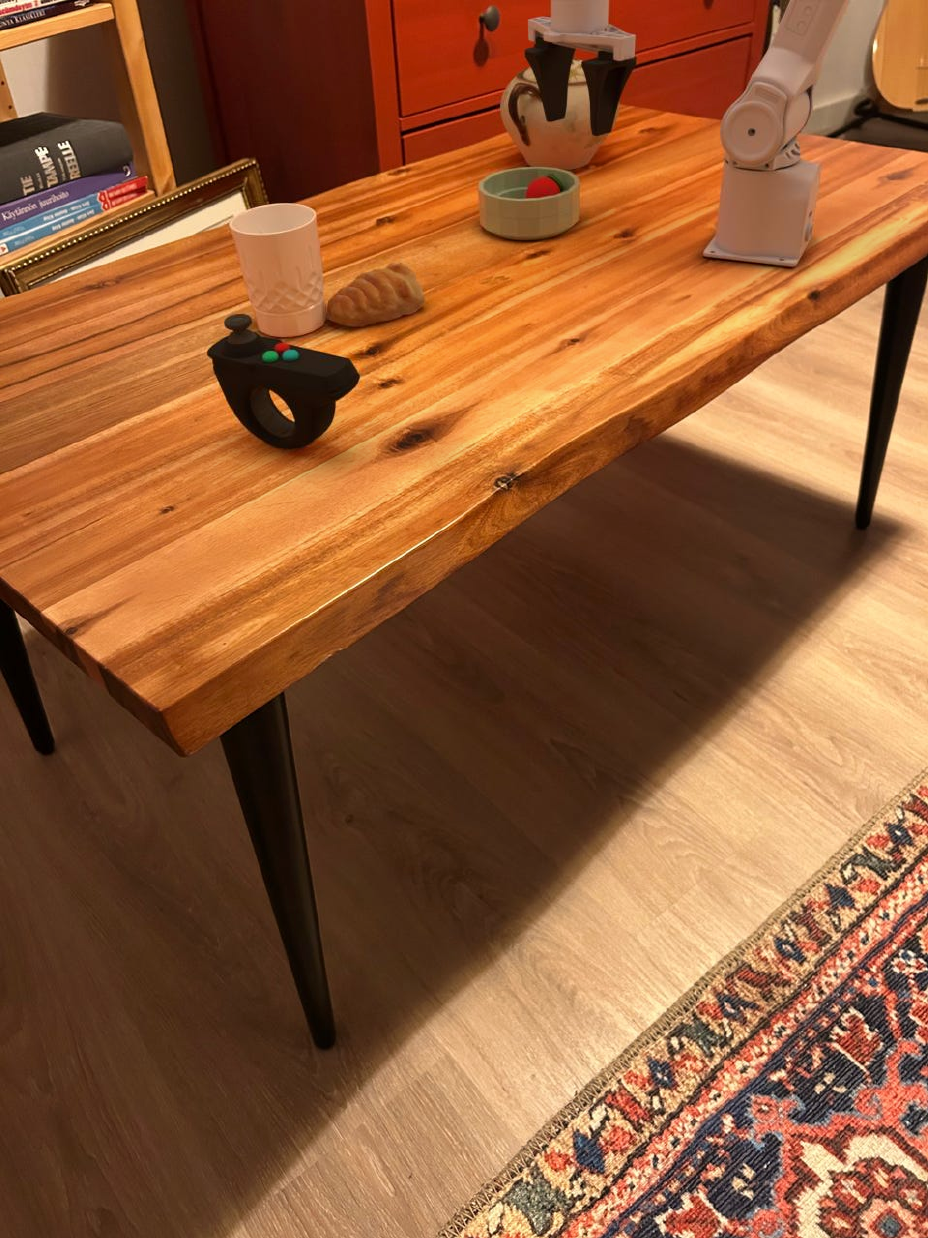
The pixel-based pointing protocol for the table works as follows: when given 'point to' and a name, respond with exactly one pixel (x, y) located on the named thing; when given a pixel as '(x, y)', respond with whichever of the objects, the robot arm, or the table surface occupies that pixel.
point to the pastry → (377, 297)
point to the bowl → (527, 204)
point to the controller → (279, 384)
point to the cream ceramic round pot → (556, 140)
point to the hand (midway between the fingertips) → (578, 126)
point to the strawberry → (544, 187)
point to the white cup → (281, 267)
